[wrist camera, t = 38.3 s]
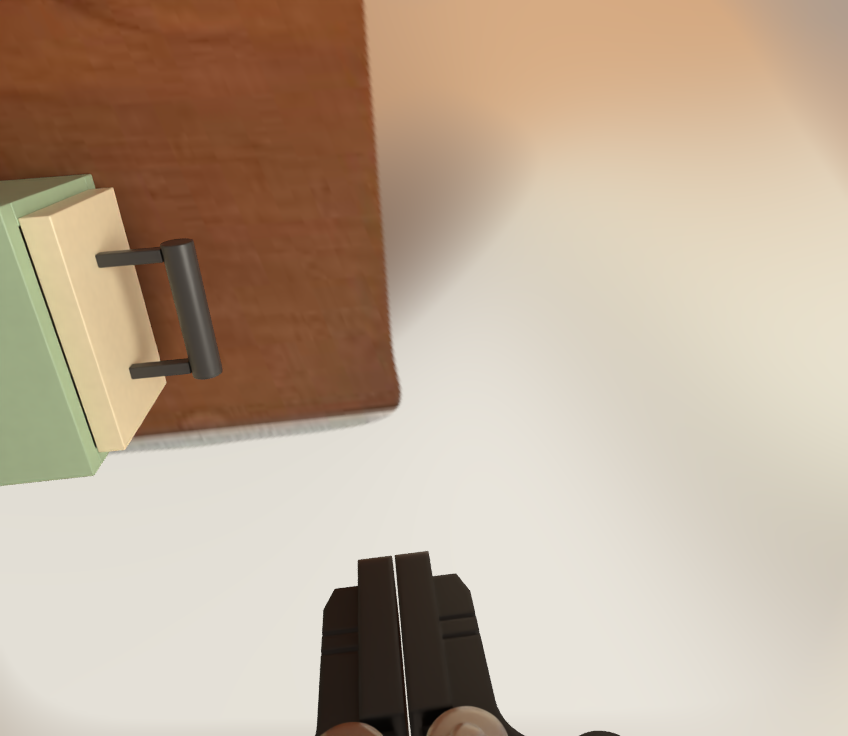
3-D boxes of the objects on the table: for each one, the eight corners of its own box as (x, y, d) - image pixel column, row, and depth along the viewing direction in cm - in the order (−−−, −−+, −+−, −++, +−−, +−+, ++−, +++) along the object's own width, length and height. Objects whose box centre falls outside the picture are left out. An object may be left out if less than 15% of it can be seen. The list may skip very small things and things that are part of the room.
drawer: (202, 180, 30) (162, 206, 24) (243, 375, 34) (219, 440, 28) (-141, 207, 29) (-276, 242, 23) (-51, 404, 33) (-144, 479, 27)
